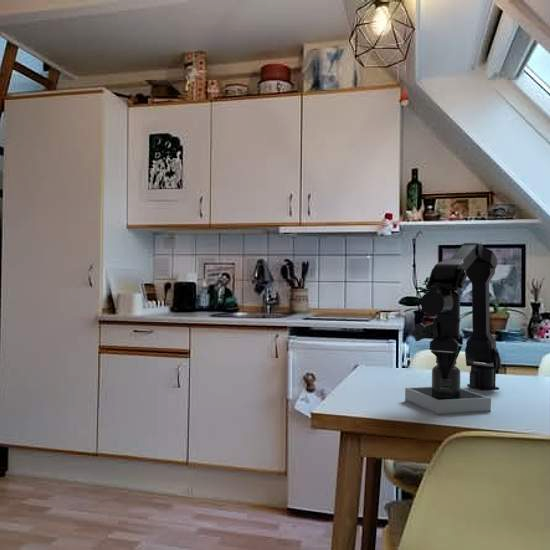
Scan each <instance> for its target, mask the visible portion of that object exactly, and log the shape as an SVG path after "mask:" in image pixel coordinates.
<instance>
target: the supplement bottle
mask: <svg viewBox="0 0 550 550" xmlns="http://www.w3.org/2000/svg"><path fill="white" fill-rule="evenodd" d="M435 363H436V365H434V366H433V367H432V369H431V387H432V397H433V398H435V399H438V400H447V399H460V388H461V370H460V368H458V367H457V366H456V365H457V360H456V359H455V361H454V363H453V366H452V368H451V371H450V373H449V376H448V378H447V379H442V375H441V371H440V366H439V361H438V358H437V357H436V356H435Z"/></svg>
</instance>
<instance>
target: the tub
mask: <svg viewBox="0 0 550 550" xmlns="http://www.w3.org/2000/svg"><path fill="white" fill-rule="evenodd" d="M404 390H405V391H404V392H405V393H404V394H405V395H404V396H405V398H404V401H405V402H406V403H408V404H411V405H412V406H415V407H418V408H420V409H423V410H425V411H427V412H430V413H431V414H434V415H436V416H447V415H458V414H459V415H460V414H462V415H463V414H475V413H486V412H487V411H488V412H492V411H491V409H492V405H491V404H492V398H491V397H489V396H485V395H482V394H481V393H477V392H473V391H472V390H467V389H465V388H462V387H460V399H447V400H438V399H435V398H433V397H432V386H422V387H421V386H418V387H417V386H416V387H415V386H414V387H405V389H404ZM488 412H487V413H488Z"/></svg>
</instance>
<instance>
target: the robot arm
mask: <svg viewBox="0 0 550 550" xmlns="http://www.w3.org/2000/svg"><path fill="white" fill-rule="evenodd" d="M497 265H498V260H497V256H496V254H495V253H494V251H493V250H491V249H489V248H488V247H485V246H484V245H483V244H482V243H480V242H478V241H477V242H464V243H461V245H460V248H459V249H458V250H457V251H456V252H455V253H453V255H452V256H451V257H450V259H447V260H443V261H442V260H441V261H439V262H438V263H436V264H435V265H434V266H433V268H432V269H431V272H430V275H429V278H428V281H427V285H426V288H425V289H426V290H427V292H425V293H423V296H421V297H422V298H421V299H420V307H421V310H422V311H423V312H424V313H426V314H427V315H430V316H435V317H434V318H433V320H432V321H433V322H432V323H428V324H424V323H423V322H421V323H417V324H415V325H414V328H413V329H411V332H412V333H411V334H412V336H413V338H414V341H415V342H420V341H422V340H424V339H427V338H430V337H432V339H431V340H430V341H429V351H430V352H431V354H433V355H434V356H435V358H436V357H437V358H438V361H439V366H440V371H441V375H442V379H447V378H448V376H449V373H450V371H451V368H452V366H453V363H454V361H455V359H456V361H457V359H458V357H459V354H460V352H461V350H462V348H463V346H462V345H463V344H464V336H463V335H462V334H461V332H460V326H461V325H460V324H461V296H462V291H461V289H462V288H463V287H464V284H465V282H466V281H467V278H468V279H469V281H470V283H471V308H472V309H471V311H472V312H471V313H472V314H471V316H472V317H471V318H472V320H471V323H472V324H471V325H472V334H470V336H469V338H468V339H467V340H466V344H465V345H466V346H465V348H464V355H465V357H464V358H465V364H466V367H470V371H469V383H467V384H466V386H467V387H470V388H473V389H476V390H479V391H491V390H500V387H499V386H496V376H497V375H496V373H497V372H496V371H497V370H501V369H502V359H501V357H500V352H499V350H498V348H497V342H496V340H495V338H494V337H493V335H492V334H491V331H490V330H491V329H490V327H491V326H490V325H491V322H490V320H491V319H490V282H491V280H492V279H493V278H494V276H495V274H496V269H497Z"/></svg>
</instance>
